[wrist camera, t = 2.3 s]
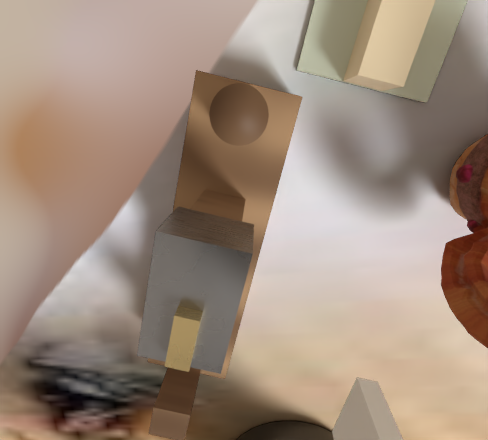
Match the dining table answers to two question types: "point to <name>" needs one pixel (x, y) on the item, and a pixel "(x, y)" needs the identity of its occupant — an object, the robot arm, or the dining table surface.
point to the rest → (381, 43)
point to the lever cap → (194, 289)
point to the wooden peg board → (226, 195)
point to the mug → (469, 243)
